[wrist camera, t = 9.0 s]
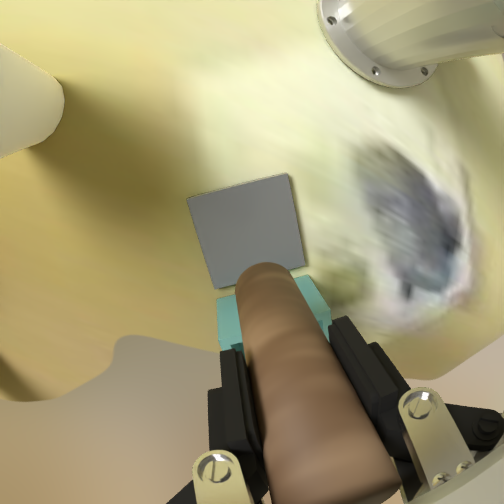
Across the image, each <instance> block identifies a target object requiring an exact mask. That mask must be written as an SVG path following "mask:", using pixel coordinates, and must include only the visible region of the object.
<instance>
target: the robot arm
mask: <svg viewBox="0 0 504 504" xmlns="http://www.w3.org/2000/svg"><path fill="white" fill-rule="evenodd" d="M317 16H318V19H319V23H320V27H321V29H322V31H323V34H324V36H325V38H326V40H327V41H328V43H329V44H330V46H331V47H332V49H333V50H334V52H335V53H336V54H337V55H338V56H339V57H340V59H341V60H342V61H343V62H344V63H345V64H346V65H348V66H349V67H350V68H351V69H352V70H353V71H355V72H356V73H358V74H359V75H361V76H362V77H364V78H365V79H367V80H369V81H372V82H374V83H376V84H378V85H382V86H386V87H390V88H406V87H412V86H416V85H419V84H421V83H423V82H425V81H426V80H428V79H429V78H430V76H431V75H432V74H433V73H434V71H435V70H436V68H437V66H438V63H443V62H448V61H453V60H459V59H465V58H471V57H478V56H485V55H493V54H502V53H504V0H318V1H317ZM328 22H329V23H330V24H329V23H328ZM372 72H373V73H372ZM328 334H329V342H330V345H331V347H332V349H333V351H334V352H335V354H336V356H337V358H338V360H339V362H340V363H341V365H342V367H343V369H344V371H345V373H346V375H347V376H348V378H349V380H350V382H351V384H352V386H353V388H354V390H355V391H356V393H357V395H358V397H359V399H360V401H361V403H362V405H363V406H364V408H365V410H366V412H367V414H368V416H369V418H370V420H371V421H372V423H373V425H374V427H375V429H376V431H377V433H378V435H379V437H380V439H381V441H382V443H383V445H384V447H385V448H386V450H387V452H388V454H389V456H390V458H391V460H392V462H393V464H394V466H395V468H396V470H397V472H398V474H399V476H400V478H401V480H402V485H401V487H400V488H399V490H400V493H401V496H402V499H403V503H404V504H504V412H503V413H498V412H496V411H495V410H491V409H483V408H475V407H467V406H460V405H453V404H446V403H444V402H443V400H442V399H441V397H440V396H439V394H438V393H437V392H435V391H434V390H432V389H429V388H426V387H418V388H414V389H411V388H410V387H409V385H408V384H407V383H406V381H405V380H404V378H403V377H402V376H401V374H400V373H399V371H398V370H397V369H396V367H395V366H394V364H393V363H392V362H391V360H390V359H389V358H388V356H387V355H386V354H385V352H384V351H383V349H382V348H381V347H380V345H379V344H378V343H377V342H373V343H370V344H367V343H366V342H365V340H364V339H363V337H362V336H361V334H360V333H359V332H358V330H357V329H356V327H355V326H354V324H353V323H352V322H351V320H350V319H349V317H348V316H344V317H341V318H337V319H334V320H332V325H328ZM220 363H221V364H220V365H221V379H222V387H220V388H216V389H211V390H209V391H208V423H209V448H210V451H209V452H207V453H204V454H203V455H201V456H200V457H199V458H198V459H197V460H196V461H195V463H194V465H193V468H192V469H193V470H192V476H193V480H192V481H190V482H189V483H188V484H187V485H186V486H185V487H184V488H183V489H182V490H181V491H180V492H179V493H178V494H176V495H175V496H174V497H173V498H172V499H171V500H170V501H169V502H167V503H166V504H265V503H264V500H263V496H264V495H265V494H266V493H267V492H268V490H269V488H268V481H267V476H266V471H265V466H264V460H263V450H262V445H261V439H260V434H259V429H258V423H257V418H256V412H255V407H254V401H253V395H252V390H251V384H250V378H249V373H248V367H247V364H246V361H245V358H244V356H243V353H242V350H241V351H237V352H236V349H235V348H232V349H228V350H224V351H220Z"/></svg>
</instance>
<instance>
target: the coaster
mask: <svg viewBox="0 0 504 504" xmlns="http://www.w3.org/2000/svg"><path fill="white" fill-rule="evenodd" d="M187 203H188V206H189V209H190V213H191V216H192V219H193V223H194V226H195V229H196V232H197V236H198V239H199V242H200V245H201V248H202V252H203V255H204V258H205V261H206V264H207V267H208V270H209V273H210V276H211V279H212V282H213V286H214V289H218V288H222V287H226V286H230V285H234V284H236V283H237V280H238V278H239V277H240V275H241V274H242V273H243V272H244V271H245V270H246V269H247V268H249V267H251V266H253V265H255V264H258V263H262V262H272V263H277V264H279V265H281V266H283V267H285V268H286V269H287V270H290V269H293V268H297V267H300V266H304V265H305V260H304V255H303V249H302V244H301V238H300V233H299V228H298V223H297V217H296V212H295V207H294V202H293V197H292V193H291V188H290V183H289V178H288V174H287V173H282V174H278V175H273V176H269V177H265V178H261V179H257V180H253V181H249V182H245V183H241V184H237V185H233V186H229V187H226V188H222V189H218V190H214V191H211V192H207V193H203V194H200V195H196V196H193V197H189V198H187Z"/></svg>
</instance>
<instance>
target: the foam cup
mask: <svg viewBox="0 0 504 504" xmlns="http://www.w3.org/2000/svg"><path fill="white" fill-rule="evenodd" d="M64 103H65V99H64V94H63V89H62V86H61V85H60V83H59V82H58V81H57V80H56V79H55V78H54V77H52V75H50V74H49V73H47V72H46V71H44V70H43V69H41V68H39V67H38V66H36V65H35V64H33V63H32V62H30V61H28V60H27V59H25V58H24V57H22V56H20V55H19V54H17V53H16V52H14V51H12V50H11V49H9V48H8V47H6V46H4V45H3V44H1V43H0V158H3V157H5V156H7V155H10V154H12V153H15V152H17V151H20V150H22V149H25V148H27V147H30V146H33V145H35V144H38V143H40V142H43V141H44V140H45V139H46V138H47V137H49V136H50V135H51V134H52V133H53V132H54V131H55V129H56V127H57V125H58V123H59V122H60V120H61V118H62V114H63V109H64Z"/></svg>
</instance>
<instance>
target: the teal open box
mask: <svg viewBox="0 0 504 504" xmlns="http://www.w3.org/2000/svg"><path fill="white" fill-rule="evenodd" d="M294 280H295V282H296V284H297V286H298V288H299V289H300V291H301V293H302V295H303V296H304V298H305V300H306V302H307V304H308V305H309V307H310V309H311V311H312V312H313V314H314V316H315V318H316V320H317V321H318V323H319V325H320V327H321V329H322V330H323V332H324V334H325V336H326V338H327V340H328V341H329V334H328V325H332V320H331V311H330V308H329V307H328V305H327V304H326V302H325V300H324V299H323V297H322V296H321V294H320V293H319V291H318V290H317V288H316V286H315V285H314V283H313V282H312V280H311V279H310V277H309V276H308V275H305V276H301V277H298V278H294ZM217 321H218V341H219V343H220V346H221V348H222V351H224V350H228V349H232V348H235V349H236V352H237V351H241V350H242V353H243V356H244V358H245V353H244V347H243V340H242V334H241V328H240V322H239V315H238V309H237V303H236V296H235V295H231V296H227V297H223V298H219V299H217ZM329 343H330V342H329ZM245 361H246V359H245Z"/></svg>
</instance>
